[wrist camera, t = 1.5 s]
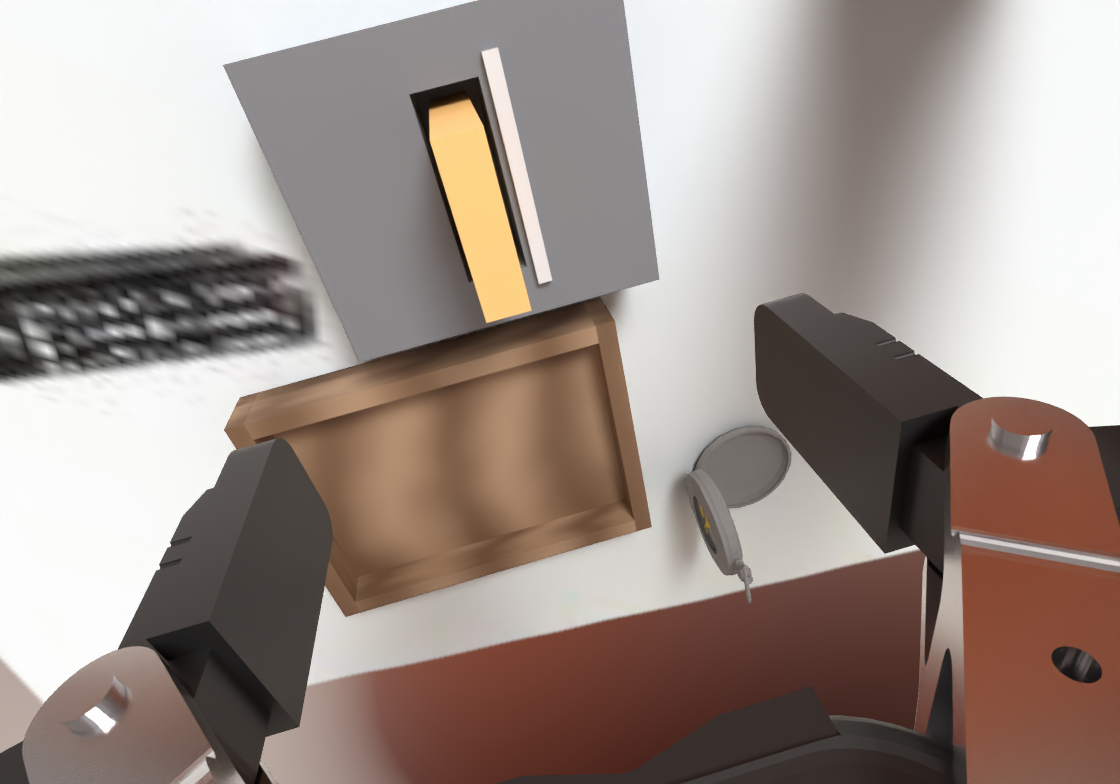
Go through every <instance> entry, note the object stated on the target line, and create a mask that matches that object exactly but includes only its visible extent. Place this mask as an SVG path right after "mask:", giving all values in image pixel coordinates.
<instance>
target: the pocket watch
mask: <svg viewBox="0 0 1120 784" xmlns="http://www.w3.org/2000/svg"><path fill="white" fill-rule="evenodd" d="M790 462H791V452H790V448H789V446H788V444H787V442H786V440H785V439H783V438H782V437H781V435H779V434H778V433H777V432H775V431H773V430H772V429H769V428H766V427H762V426H747V427H742V428H738V429H734V430H732V431H730V432H728V433H726V434H724V435H722V436H720V437H718V438H717V439H716V440H715V441H714V442H713V443H712V444H711V445H709V446H708V447H707V448H706V449H705V450H704V452H703V453H702V455H701V457H700V458H699V460H698V462H697V465H696V468H695V471H692V472H691V473H690V474H688V475H687V479H686V480H687V489H688V493H689V498H690V502H691V506H692V509H693V512H694V515H695V518H696V521H697V523H698V526H699V529H700V532H701V534H702V537H703V539H704V541H705V543H706V545H707V548H708V550H709V552H710V554H711V556H712V558H713V559H714V561H715V563H716V564H717V566H718V567H719V569H720V570H721V571H722V573H723V574H724V575H735V574H738V576H739V578H740V579H741V581H743V582H744V583H745V589H746V595H747V601H748V603H751V594H750V588H749V584H751V582H752V581H753V578H752V577H751V570H750V568H749V567H748V566H746V565H745V564H744V562H743V561H742V550H741V546H740V542H739V538H738V534H737V531H736V528H735V525H734V522H733V520H732V517H731V515H730V512H729V510H728V508H740V507H743V506H746V505H750V504H753V503H755V502H757V501H759V500H761V499H763V498H764V497H766V496H767V495H769V494H770V493H771V492H772V491H774V490H775V489H776V488H777V487H778V486H779V484H780V483H781V482H782V481H783V479H784V477H785V475H786V473H787V471H788V469H789V467H790Z"/></svg>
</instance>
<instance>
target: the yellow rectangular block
mask: <svg viewBox="0 0 1120 784" xmlns="http://www.w3.org/2000/svg"><path fill="white" fill-rule="evenodd" d="M429 126H430V143H431V146H432V149H433V152H434V156H435V159H436V162H437V165H438V169H439V172H440V175H441V178H442V181H443V185H444V188H445V191H446V194H447V197H448V201H449V204H450V207H451V210H452V214H453V217H454V220H455V223H456V226H457V230H458V233H459V236H460V239H461V242H462V246H463V249H464V252H465V255H466V259H467V262H468V265H469V268H470V271H471V275H472V278H473V281H474V284H475V288H476V291H477V294H478V297H479V300H480V304H481V307H482V310H483V313H484V316H485V320H486V323H488V322H492V321H496V320H499V319H503V318H507V317H510V316H514V315H517V314H521V313H525V312H528V311H532V310H531V306H530V302H529V298H528V294H527V290H526V287H525V283H524V279H523V275H522V271H521V268H520V264H519V260H518V256H517V252H516V248H515V245H514V241H513V237H512V233H511V229H510V225H509V222H508V218H507V214H506V210H505V206H504V203H503V199H502V195H501V191H500V187H499V183H498V180H497V176H496V172H495V168H494V164H493V160H492V157H491V153H490V149H489V145H488V141H487V138H486V134H485V130H484V126H483V124H482V122H481V120H480V118H479V116H478V114H477V113H476V111H475V109H474V107H473V105H472V103H471V101H470V99H469V97H468V95H467V93H466V91H464V92H460V93H456V94H452V95H448V96H444V97H440V98H437V99H433V100H429Z"/></svg>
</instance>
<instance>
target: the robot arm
mask: <svg viewBox="0 0 1120 784" xmlns="http://www.w3.org/2000/svg"><path fill="white" fill-rule="evenodd" d="M754 329H755V358H756V383H757V390H758V395H759V398H760V401H761V404H762V406H763V408H764V410H765V412H766V414H767V416H768V417H769V418H770V419H771V421H772V422H773V423H774V424H775V425H776V426H777V428H778V429H779V430H780V431H781V432H782V434H783V435H784V436H785V437H786V438H787V439H788V441H789V442H790V443H791V444H792V445H793V446H794V448H795V449H796V450H797V451H798V452H799V453H800V455H801V456H802V457H803V458H804V459H805V461H806V462H807V463H808V464H809V465H810V466H811V468H812V469H813V470H814V471H815V472H816V473H817V475H818V476H819V477H820V478H821V479H822V480H823V482H824V483H825V484H826V485H827V486H828V488H829V489H830V490H831V491H832V492H833V493H834V495H835V496H836V497H837V498H838V499H839V500H840V502H841V503H842V504H843V505H844V506H845V507H846V509H847V510H848V511H849V512H850V513H851V515H852V516H853V517H854V518H855V519H856V520H857V522H858V523H859V524H860V525H861V526H862V527H863V529H864V530H865V531H866V532H867V533H868V534H869V536H870V537H871V538H872V539H873V540H874V542H875V543H876V544H877V545H878V546H879V547H880V549H881V550H882V551H883V552H884V553H889V552H892V551H895V550H899V549H902V548H905V547H909V546H912V545H916V546H917V547H918V548H919V549H920V550H921V551H922V552H923V553H924V554H925V556H926V557H925V563H924V568H923V586H922V617H921V649H920V651H921V652H920V679H919V694H918V704H917V712H916V720H915V730H914V731H913V730H910V729H907V728H904V727H901V726H898V725H895V724H891V723H886V722H882V721H877V720H872V719H868V718H858V717H848V716H828V714H827V712H826V710H825V709H824V707H823V705H822V703H821V702H820V700H819V698H818V696H817V695H816V693H815V691H814V689H813V688H812V687H809V688H806V689H802V690H799V691H796V692H793V693H790V694H786V695H783V696H780V697H776V698H773V699H770V700H767V701H763V702H760V703H757V704H754V705H750V706H747V707H744V708H741V709H738V710H734V711H731V712H728V713H724V714H721V715H719V716H717V717H715V718H714V719H712V720H711V721H709V722H708V723H706V724H705V725H703V726H702V727H700V728H699V729H697V730H696V731H694V732H692V733H691V734H689V735H688V736H687V737H685V738H683V739H682V740H681V741H679V742H677V743H676V744H674V745H673V746H671V747H670V748H668V749H667V750H665V751H663V752H662V753H660V754H659V755H657V756H656V757H654V758H653V759H651V760H650V761H648V762H646V763H645V764H643V765H642V766H640V767H639V768H637V769H635V770H634V771H631V772H627V773H623V774H598V775H596V774H595V775H542V776H540V775H539V776H520V777H517V778H514V779H511V780H507V781H504V782H501V783H498V784H1120V425H1116V426H1098V427H1088V426H1087V425H1086V424H1085V423H1084V422H1083V421H1081V420H1080V419H1079V418H1077V417H1076V416H1074V415H1073V414H1071V413H1069V412H1067V411H1065V410H1063V409H1061V408H1058V407H1056V406H1053V405H1050V404H1047V403H1044V402H1040V401H1036V400H1031V399H1025V398H1017V397H991V398H984V399H983V398H982V397H981V396H979V395H978V394H976V393H975V392H973V391H972V390H970V389H969V388H967V387H966V386H965V385H963V384H962V383H960V382H959V381H957V380H956V379H954V378H953V377H951V376H950V375H949V374H947V373H946V372H944V371H943V370H941V369H940V368H938V367H937V366H935V365H934V364H933V363H931V362H930V361H928V360H927V359H925V358H924V357H922V356H921V355H919V354H918V355H915V353H914V350H912V349H911V348H909V347H908V346H906V345H905V344H903V343H902V342H900V341H898V342H896V340H895V337H893V336H892V335H890V334H889V333H887V332H886V331H884V330H883V329H882V328H880V327H879V326H877V325H876V324H874V323H873V322H870V321H867V320H863V319H860V318H857V317H854V316H851V315H848V314H845V313H838V314H833V313H832V312H830V311H829V310H828V309H826V308H825V307H824V306H822V305H821V304H820V303H818V302H817V301H815V300H814V299H813V298H811V297H810V296H808V295H807V294H804V293H801V294H797V295H794V296H790V297H787V298H783V299H779V300H776V301H772V302H769V303H765V304H762V305H759V306H758V307H757V308H756V311H755V316H754ZM332 541H333V530H332V523H331V519H330V515H329V512H328V510H327V507H326V505H325V503H324V502H323V500H322V498H321V496H320V495H319V493H318V491H317V490H316V488H315V486H314V484H313V483H312V481H311V479H310V478H309V476H308V474H307V472H306V471H305V469H304V467H303V466H302V464H301V462H300V460H299V459H298V457H297V455H296V454H295V452H294V450H293V449H292V447H291V446H290V444H289V443H288V442H287V441H286V440H284V439H282V438H277V439H273V440H270V441H266V442H263V443H259V444H256V445H252V446H248V447H245V448H241V449H238V450H234V451H232V452H231V453H230V454H229V456H228V458H227V460H226V463H225V465H224V467H223V469H222V471H221V474H220V476H219V478H218V480H217V482H216V485H215V487H214V488H212V489H208V490H206V491H205V493H204V494H203V495H202V496H201V497H200V498H199V499H198V500H197V501H196V502H195V503H194V505H193V506H192V507H191V508H190V509H189V510H188V511H187V512H186V513H185V514H184V515H183V517H182V519H181V521H180V523H179V525H178V527H177V529H176V531H175V533H174V535H173V538H172V540H171V542H170V543H171V547H169V548H167V550H166V552H165V554H164V556H163V558H162V560H161V562H160V564H159V565H160V570H157V571H156V572H155V574H154V576H153V578H152V580H151V583H150V585H149V587H148V589H147V591H146V593H145V595H144V597H143V599H142V601H141V603H140V605H139V607H138V609H137V611H136V613H135V615H134V617H133V619H132V621H131V623H130V625H129V628H128V630H127V632H126V634H125V636H124V638H123V640H122V642H121V644H120V646H119V648H118V650H116V651H113V652H111V653H108V654H106V655H104V656H102V657H100V658H98V659H96V660H95V661H93V662H91V663H89V664H88V665H86V666H85V667H83V668H82V669H80V670H79V671H78V672H76V673H75V674H74V675H73V676H71V677H70V678H69V679H68V680H67V681H65V682H64V683H63V684H62V685H61V686H60V687H59V688H58V689H57V690H56V691H55V692H54V693H53V694H52V695H51V696H50V697H49V698H48V699H47V701H46V702H45V703H44V704H43V706H42V707H41V708H40V710H39V711H38V712H37V714H36V715H35V717H34V718H33V720H32V722H31V724H30V726H29V727H28V730H27V732H26V735H25V737H24V740H23V741H22V742H20V743H18V744H17V745H15V746H13V747H11V748H9V749H7V750H6V751H4V752H2V753H0V784H278V782H277V781H276V779H275V778H274V776H273V774H272V773H271V771H270V770H269V769H268V767H267V766H266V765H265V764H264V763H263V762H262V761H261V760H260V759H261V754H262V750H263V746H264V741H265V737H267V736H270V735H274V734H277V733H280V732H284V731H287V730H290V729H294V728H297V727H299V725H300V720H301V714H302V708H303V703H304V697H305V691H306V686H307V681H308V675H309V670H310V664H311V659H312V653H313V648H314V642H315V636H316V631H317V625H318V620H319V614H320V609H321V603H322V598H323V592H324V587H325V581H326V575H327V570H328V564H329V559H330V553H331V548H332Z"/></svg>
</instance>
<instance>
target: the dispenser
mask: <svg viewBox="0 0 1120 784" xmlns="http://www.w3.org/2000/svg"><path fill="white" fill-rule="evenodd" d="M223 66H224V68H225V70H226V73H227V75H228V77H229V79H230V81H231V84H232V86H233V88H234V90H235V92H236V94H237V97H238V99H239V101H240V103H241V105H242V107H243V110H244V112H245V114H246V116H247V118H248V121H249V123H250V125H251V127H252V129H253V131H254V134H255V136H256V138H257V140H258V142H259V144H260V147H261V149H262V151H263V153H264V155H265V158H266V160H267V162H268V164H269V166H270V168H271V171H272V173H273V175H274V177H275V179H276V181H277V184H278V186H279V188H280V190H281V192H282V195H283V197H284V199H285V201H286V203H287V205H288V208H289V210H290V212H291V214H292V216H293V218H294V221H295V223H296V225H297V227H298V229H299V232H300V234H301V236H302V238H303V240H304V242H305V245H306V247H307V249H308V251H309V253H310V255H311V258H312V260H313V262H314V264H315V266H316V269H317V271H318V273H319V275H320V277H321V279H322V282H323V284H324V286H325V288H326V290H327V292H328V295H329V297H330V299H331V301H332V303H333V306H334V308H335V310H336V312H337V314H338V316H339V319H340V321H341V323H342V325H343V327H344V330H345V332H346V334H347V336H348V338H349V340H350V343H351V345H352V347H353V349H354V351H355V353H356V356H357V358H358V360H359V362H363V361H366V360H370V359H374V358H377V357H381V356H384V355H388V354H392V353H395V352H399V351H402V350H406V349H410V348H413V347H417V346H421V345H424V344H428V343H431V342H435V341H439V340H442V339H446V338H449V337H453V336H457V335H460V334H464V333H468V332H471V331H475V330H478V329H482V328H486V327H489V326H493V325H496V324H500V323H504V322H507V321H511V320H514V319H518V318H522V317H525V316H529V315H533V314H536V313H540V312H543V311H547V310H551V309H554V308H558V307H561V306H565V305H569V304H572V303H576V302H579V301H583V300H587V299H590V298H594V297H598V296H601V295H605V294H608V293H612V292H616V291H619V290H623V289H626V288H630V287H634V286H637V285H641V284H644V283H648V282H652V281H655V280H659V274H658V266H657V258H656V250H655V243H654V235H653V227H652V219H651V212H650V204H649V196H648V188H647V181H646V173H645V165H644V157H643V149H642V142H641V134H640V126H639V118H638V111H637V103H636V95H635V87H634V80H633V72H632V64H631V56H630V49H629V41H628V33H627V25H626V17H625V10H624V2H623V0H478V1H474V2H470V3H466V4H462V5H458V6H454V7H450V8H446V9H443V10H439V11H435V12H431V13H427V14H423V15H419V16H415V17H411V18H407V19H403V20H399V21H395V22H391V23H387V24H383V25H379V26H375V27H372V28H368V29H364V30H360V31H356V32H352V33H348V34H344V35H340V36H336V37H332V38H328V39H324V40H320V41H316V42H312V43H308V44H305V45H301V46H297V47H293V48H289V49H285V50H281V51H277V52H273V53H269V54H265V55H261V56H257V57H253V58H249V59H245V60H241V61H238V62H234V63H230V64H226V65H223ZM464 91H466V93H467V95H468V97H469V99H470V101H471V103H472V105H473V107H474V109H475V111H476V113H477V114H478V116H479V118H480V120H481V122H482V124H483V126H484V130H485V134H486V138H487V141H488V145H489V149H490V153H491V157H492V160H493V164H494V168H495V172H496V176H497V180H498V183H499V187H500V191H501V195H502V199H503V203H504V206H505V210H506V214H507V218H508V222H509V225H510V229H511V233H512V237H513V241H514V245H515V248H516V252H517V256H518V260H519V264H520V268H521V271H522V275H523V279H524V283H525V287H526V290H527V294H528V298H529V302H530V306H531V310H532V311H528V312H525V313H521V314H517V315H514V316H510V317H507V318H503V319H499V320H496V321H492V322H488V323H486V320H485V316H484V313H483V310H482V307H481V304H480V300H479V297H478V294H477V291H476V288H475V284H474V281H473V278H472V275H471V271H470V268H469V265H468V262H467V259H466V255H465V252H464V249H463V246H462V242H461V239H460V236H459V233H458V230H457V226H456V223H455V220H454V217H453V214H452V210H451V207H450V204H449V201H448V197H447V194H446V191H445V188H444V185H443V181H442V178H441V175H440V172H439V169H438V165H437V162H436V159H435V156H434V152H433V149H432V146H431V143H430V126H429V100H433V99H437V98H440V97H444V96H448V95H452V94H456V93H460V92H464Z"/></svg>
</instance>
